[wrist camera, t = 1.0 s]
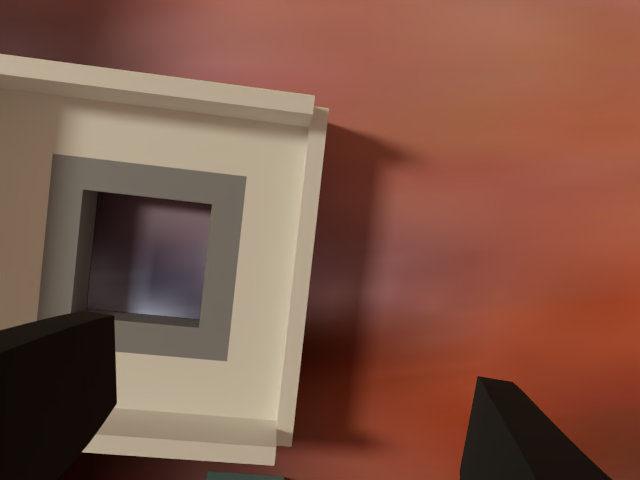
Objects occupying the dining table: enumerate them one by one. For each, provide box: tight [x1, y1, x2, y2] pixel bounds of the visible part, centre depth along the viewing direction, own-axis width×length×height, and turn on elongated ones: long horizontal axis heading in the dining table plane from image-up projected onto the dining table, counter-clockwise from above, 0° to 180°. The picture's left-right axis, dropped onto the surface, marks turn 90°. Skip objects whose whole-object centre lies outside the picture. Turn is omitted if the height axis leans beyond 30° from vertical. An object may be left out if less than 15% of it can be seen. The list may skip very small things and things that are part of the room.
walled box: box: [0, 54, 329, 466], centre depth 24 cm, size 16×16×5 cm
